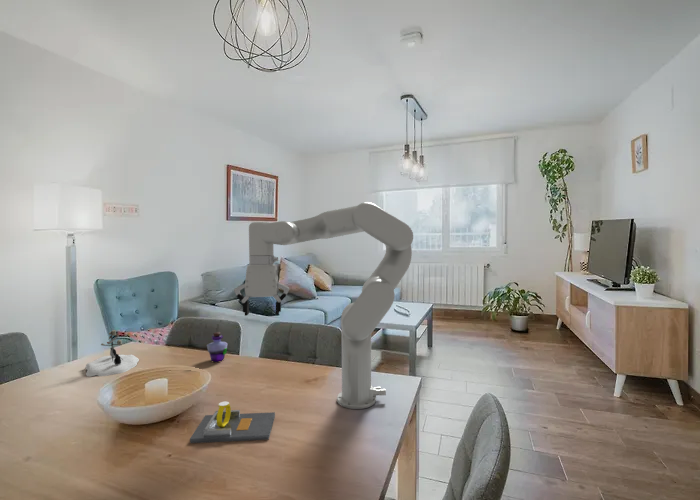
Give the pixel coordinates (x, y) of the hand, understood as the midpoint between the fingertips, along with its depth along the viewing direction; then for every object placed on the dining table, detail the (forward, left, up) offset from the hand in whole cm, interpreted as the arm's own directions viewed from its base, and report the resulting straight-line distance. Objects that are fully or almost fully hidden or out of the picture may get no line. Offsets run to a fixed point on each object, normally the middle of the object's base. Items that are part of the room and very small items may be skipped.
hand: (262, 314), depth 113 cm
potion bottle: (+26, -41, -28) cm, 56 cm away
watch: (+8, +16, -27) cm, 33 cm away
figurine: (+67, -36, -29) cm, 81 cm away
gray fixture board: (+5, +16, -28) cm, 33 cm away
